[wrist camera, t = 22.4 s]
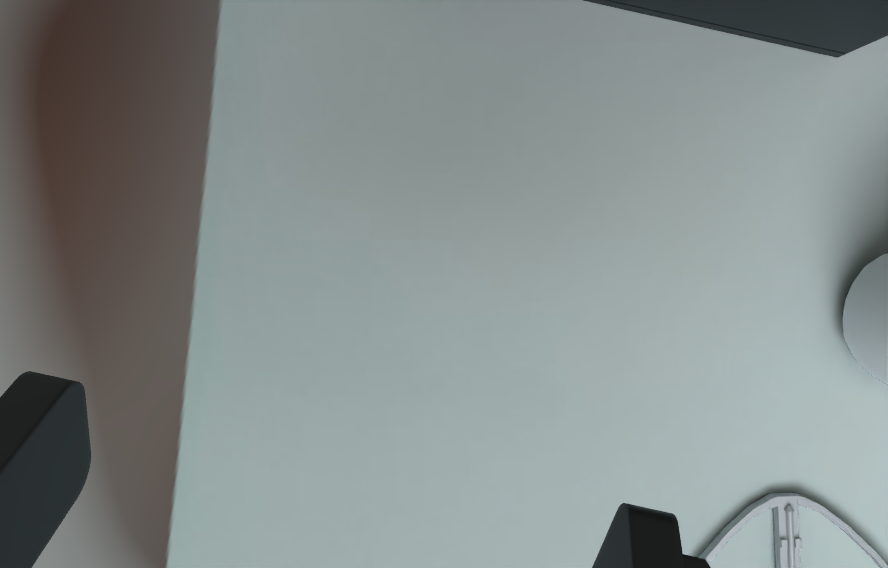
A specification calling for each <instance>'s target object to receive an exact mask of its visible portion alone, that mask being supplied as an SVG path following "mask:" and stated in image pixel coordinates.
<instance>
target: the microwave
mask: <svg viewBox="0 0 888 568" xmlns="http://www.w3.org/2000/svg"><path fill="white" fill-rule="evenodd" d="M584 1H589V2H593V3H597V4H602V5H606V6H611V7H615V8H620V9H624V10H629V11H633V12H637V13H642V14H646V15H651V16H655V17H660V18H664V19H669V20H673V21H677V22H682V23H686V24H691V25H695V26H700V27H704V28H709V29H713V30H717V31H722V32H726V33H731V34H735V35H740V36H744V37H749V38H753V39H757V40H762V41H766V42H771V43H775V44H780V45H784V46H789V47H793V48H797V49H802V50H806V51H811V52H815V53H820V54H824V55H829V56H833V57H840V56H842V55H844V54H846V53H849V52H851V51H853V50H856V49H858V48H860V47H863V46H865V45H867V44H869V43H872V42H874V41H876V40H879V39H881V38H883V37H885V36H888V0H584Z"/></svg>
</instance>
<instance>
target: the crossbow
mask: <svg viewBox="0 0 888 568" xmlns="http://www.w3.org/2000/svg"><path fill="white" fill-rule="evenodd" d="M798 505H799V506H802V507H805V508H807V507H808V508H810V509H812V510H815V511H817V512H819V513H821V514H822V515H824V516H825V517H826V518H828V519H829V520H830V521H832V522H833V523H834V524H835V525H837V526H838V527H839V528H841V529H842V530H843V531H844V532H845V533H846V534H847V535H848V536H849V537H851V538H852V539H853V540H854V541H855V542H856V543H857V544H858V545H859V546H860V547H861V548H862V549H863V550H864V551H865V552H866V553H867V554H868V555H869V556H870V557H871V558H872V559H873V560H874V561H875V563H876V564H877V565H878V566H879V567H880V568H888V566H887V565H886V563H885V562H884V561H883V560H882V559H881V557H880V556H879V555H878V554H877V553H876V552H875V551H874V550H873V549H872V548H871V547H870V546H869V545H868V544H867V543H866V542H865V541H864V540H863V539H862V538H861V537H860V536H859V535H858V534H857V533H856V532H854V531H853V530H852V529H851V528H850V527H849V526H848V525H847V524H846V523H844V522H843V521H842V520H840V519H839V518H838V517H836V516H835V515H834V514H832V513H831V512H830V511H829V510H827V509H826V508H825V507H823V506H822V505H820V504H818V503H817V502H815V501H812V500H810V499H808V498H805V497H804V496H802V495H800V494H797V493H794V492H792V493H770V494H768V495H766V496H764V498H762V499H760V500H758V501H756V502H754V503H752V504H751V505H749V506H748V507H747V508H746V509H744V510H743V511H742V512H741V513H740V514H739V515H738V516H737V517H736V518H735V519H733V520H732V521H731V522H730V523H729V524H728V525H727V526H726V527H725V528H724V529H723V530H722V531H721V532H720V534H719V535H718V536H717V537H716V538H715V539H714V540H713V542H712V543H711V544H710V545H709V546H708V547H707V548H706V549H705V551H704V552H703V553H702V554H701V555H700V557H699V558H702V559H706V561H707V562H708V563H709V562H710V561H711V560H712V559H713V558H714V557H715V556H716V554H717V553H718V552H719V551H720V550H721V549H722V548H723V546H724V545H725V544H726V543H727V542H728V541H729V540H730V539H731V538H732V537H733V536H734V535H735V534H736V533H737V532H738V531H739V530H740V529H742V528H743V527H744V526H745V525H746V524H747V523H748V522H749V521H750V520H751V519H753V518H754V517H755V516H757V515H759V514H761V513H763V512H764V511H766V510H768V509H772V508H773V512H774V535H775V557H776V568H801V566H800V548H802V541H801V538H799V520H798Z"/></svg>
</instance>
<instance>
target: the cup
mask: <svg viewBox="0 0 888 568" xmlns="http://www.w3.org/2000/svg"><path fill="white" fill-rule="evenodd" d="M843 332H844V338H845V341H846V343H847V345H848V347H849V350H850V352H851V354H852V355H853V356H854V358H855V359H856V360H857V362H858V363H859V364H860V366H861V367H862V368H863V369H864V370H865V371H867V372H868V373H869V374H871V375H872V376H873V377H875V378H876V379H877V380H879V381H881V382H883V383H885V384H887V385H888V253H886V254H884V255H881V256H879V257H878V258H876V259H875V260H874V261H872V262H871V263H869V264H868V265H866V266H865V267H864V268H863V269H862V271H861V272H860V274H859V275H858V276H857V278H856V279H855V280H854V282H853V284H852V286H851V288H850V290H849V293H848V295H847V297H846V300H845V305H844V312H843Z"/></svg>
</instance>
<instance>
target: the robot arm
mask: <svg viewBox="0 0 888 568" xmlns="http://www.w3.org/2000/svg"><path fill="white" fill-rule="evenodd" d="M90 462H91V449H90V438H89V428H88V418H87V407H86V398H85V390H84V387H83V385H82V384H81V383H80V382H76V381H72V380H67V379H63V378H58V377H54V376H49V375H44V374H40V373H35V372H31V371H29V372H25V373H23V374H22V375H20V376H19V377H18V378H17V379H16V380H15V381H14V383H13V384H12V385H11V386H10V387H9V388H8V389H7V391H6V392H5V393H4V394H3V395H2V396H1V397H0V568H32V566H33V565H34V563H35V562H36V560H37V559H38V557H39V555H40V554H41V552H42V551H43V549H44V548H45V546H46V545H47V543H48V542H49V540H50V539H51V537H52V536H53V534H54V533H55V531H56V530H57V528H58V527H59V525H60V524H61V522H62V521H63V519H64V518H65V516H66V514H67V513H68V511H69V510H70V508H71V507H72V505H73V504H74V502H75V501H76V499H77V498H78V496H79V494H80V492H81V491H82V489H83V486H84V484H85V481H86V479H87V475H88V472H89V468H90ZM592 568H710V566H709V564H708V562H707V561H706V559H702V558H697V557H693V556H688V555H684V554H682V547H681V540H680V533H679V526H678V521H677V518H676V517H675V515H674V514H672V513H667V512H663V511H658V510H653V509H649V508H644V507H640V506H635V505H631V504H626V503H622V504H621V505H620V506H619V508H618V510H617V512H616V514H615V517H614V519H613V521H612V524H611V526H610V528H609V530H608V533H607V535H606V537H605V540H604V542H603V544H602V546H601V549H600V551H599V553H598V556H597V558H596V560H595V562H594V565H593V567H592Z"/></svg>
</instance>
